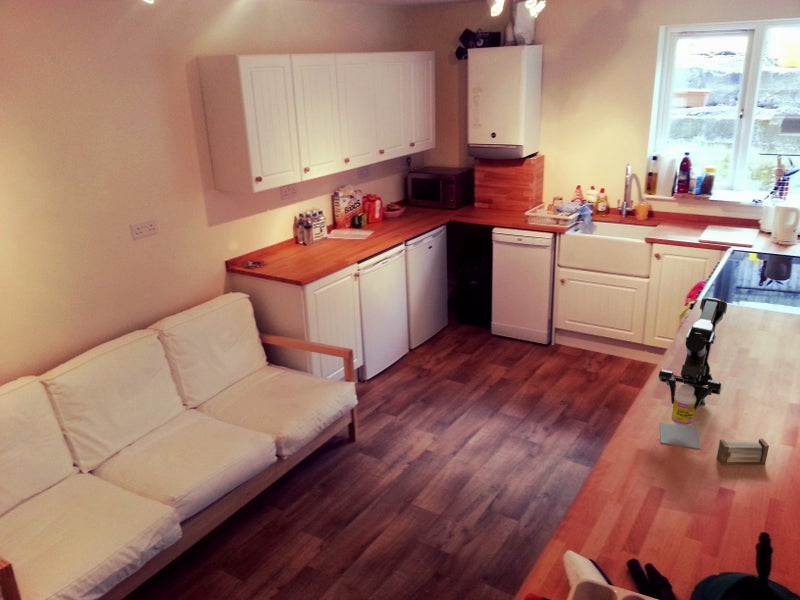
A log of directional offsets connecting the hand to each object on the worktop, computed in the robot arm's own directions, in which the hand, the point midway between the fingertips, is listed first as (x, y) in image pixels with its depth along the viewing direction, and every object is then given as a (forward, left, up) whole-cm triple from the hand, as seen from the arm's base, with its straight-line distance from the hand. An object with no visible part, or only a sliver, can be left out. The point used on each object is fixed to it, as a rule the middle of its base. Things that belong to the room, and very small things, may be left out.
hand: (683, 406), depth 213 cm
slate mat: (-1, 0, -12) cm, 12 cm away
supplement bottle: (-1, 0, -7) cm, 7 cm away
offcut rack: (+8, +18, -12) cm, 23 cm away
